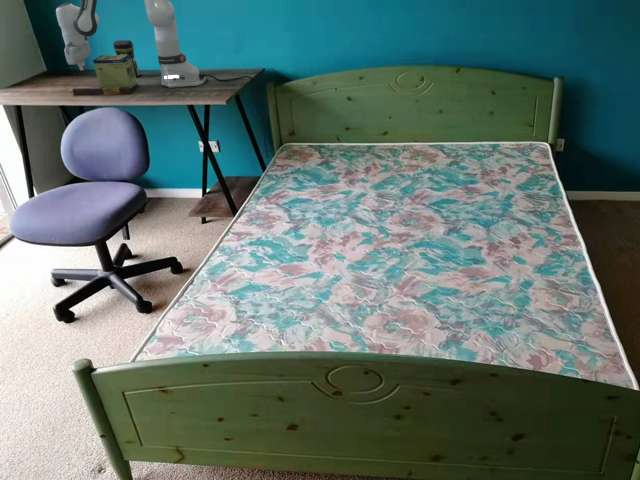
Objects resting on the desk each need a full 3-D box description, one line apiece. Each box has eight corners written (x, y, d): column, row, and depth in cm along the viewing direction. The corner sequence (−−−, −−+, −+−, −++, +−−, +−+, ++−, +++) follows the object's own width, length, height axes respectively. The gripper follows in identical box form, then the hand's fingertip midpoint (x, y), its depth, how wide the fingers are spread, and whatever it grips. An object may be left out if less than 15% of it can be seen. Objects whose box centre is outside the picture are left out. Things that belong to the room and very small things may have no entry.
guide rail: (131, 93, 296) (130, 86, 294) (130, 94, 294) (128, 88, 293) (75, 94, 297) (74, 88, 295) (74, 95, 295) (72, 89, 293)
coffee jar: (119, 78, 320) (109, 42, 310) (124, 74, 327) (115, 39, 316) (137, 78, 320) (128, 41, 310) (141, 74, 327) (133, 38, 316)
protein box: (131, 91, 298) (123, 59, 290) (100, 92, 298) (92, 60, 290) (138, 85, 307) (131, 54, 299) (108, 86, 307) (100, 55, 299)
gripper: (71, 44, 280) (80, 74, 288) (89, 35, 297) (97, 64, 305) (58, 45, 280) (67, 75, 288) (76, 36, 297) (85, 64, 305)
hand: (83, 69), depth 296 cm, fingers closed
